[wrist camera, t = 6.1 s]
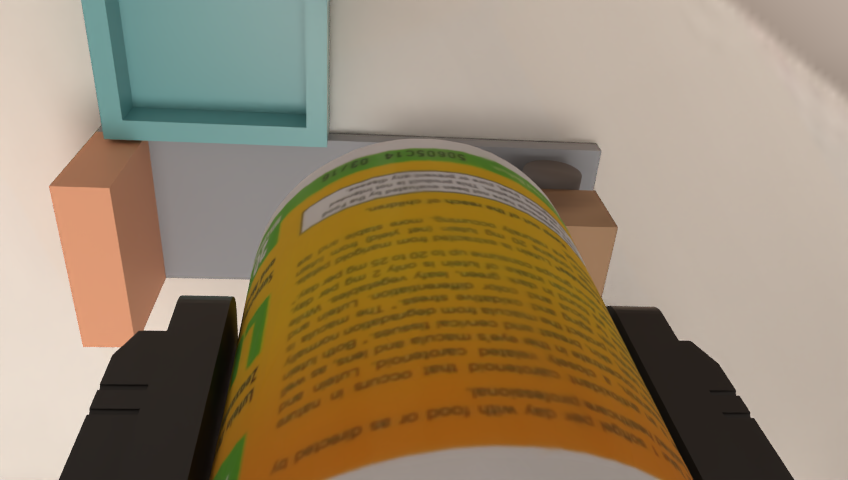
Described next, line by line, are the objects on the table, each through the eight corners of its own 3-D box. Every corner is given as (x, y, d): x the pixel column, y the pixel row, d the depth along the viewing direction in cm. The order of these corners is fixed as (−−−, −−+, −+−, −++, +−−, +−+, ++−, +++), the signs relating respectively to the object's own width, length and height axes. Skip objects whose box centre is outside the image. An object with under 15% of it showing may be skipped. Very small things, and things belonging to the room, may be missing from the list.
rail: (596, 143, 32) (639, 204, 27) (569, 276, 35) (602, 352, 30) (102, 124, 30) (49, 186, 25) (125, 267, 33) (83, 346, 28)
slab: (580, 161, 31) (619, 222, 26) (556, 285, 34) (586, 360, 29) (393, 154, 30) (398, 216, 25) (386, 282, 33) (389, 358, 28)
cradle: (330, -93, 26) (327, -87, 24) (329, 128, 30) (327, 147, 29) (84, -111, 25) (63, -105, 24) (119, 120, 30) (103, 139, 28)
